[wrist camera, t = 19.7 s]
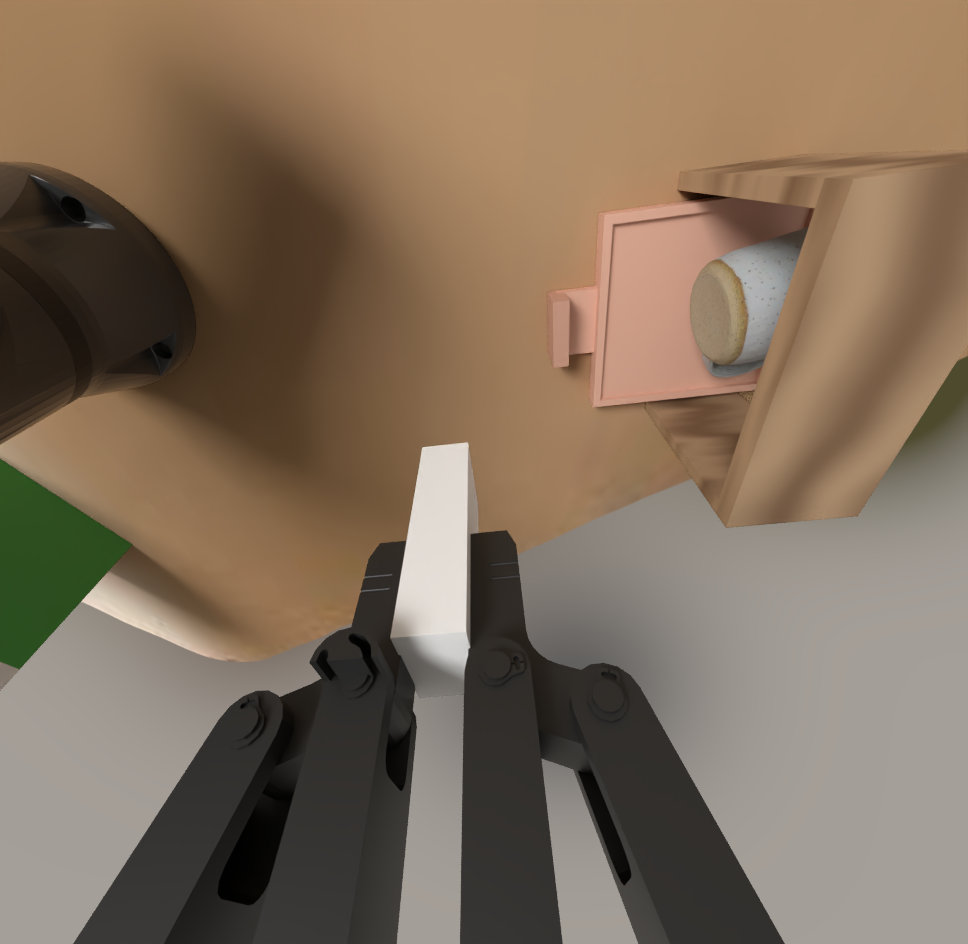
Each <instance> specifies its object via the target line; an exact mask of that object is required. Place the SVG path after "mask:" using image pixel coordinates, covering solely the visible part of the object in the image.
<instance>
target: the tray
mask: <svg viewBox="0 0 968 944" xmlns="http://www.w3.org/2000/svg"><path fill="white" fill-rule="evenodd" d="M814 209H815V208H808V207H801V206H793V205H786V204H778V203H771V202H763V201H756V200H748V199H741V198H733V197H726V196H719V197H711V198H704V199H697V200H689V201H682V202H675V203H667V204H660V205H653V206H645V207H638V208H631V209H623V210H616V211H608V212H601V213H599V219H598V238H597V258H596V277H595V286H590V287H582V288H574V289H566V290H558V291H550V292H547V309H548V354H549V357H550V360H551V362H552V365H553V368H557V367H565V366H569V355H573V354H582V353H591V352H592V354H591V373H590V392H589V400H590V402H591V404H592V406H593V407H602V406H611V405H620V404H630V403H639V402H648V401H658V400H667V399H676V398H686V397H695V396H704V395H713V394H723V393H732V392H741V391H751V390H755V388H756V385H757V382H758V379H759V376H760V373H761V370H762V367H763V366H762V367H760V368H758V369H755V370H753V371H751V372H748V373H745V374H742V375H738V376H733V377H724V378H722V377H715V376H713V375H711V374H710V373H709V371H708V370H707V368H706V366H705V364H704V362H703V359H702V352H701V350H700V348H699V347H698V345H697V343H696V341H695V337H694V334H693V331H692V326H691V319H690V298H691V293H692V288H693V285H694V283H695V281H696V278H697V276H698V275H699V273H700V271H701V270H702V269H703V268H704V267H705V266H706V265H707V264H708V263H709V262H711V261H713V260H715V259H717V258H719V257H721V256H723V255H725V254H727V253H729V252H732V251H735V250H737V249H740V248H743V247H747V246H750V245H754V244H757V243H760V242H763V241H766V240H769V239H772V238H775V237H778V236H781V235H784V234H787V233H791V232H794V231H797V230H800V229H803V228H806V227H809V225H810V221H811V218H812V215H813V212H814Z"/></svg>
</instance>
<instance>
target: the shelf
mask: <svg viewBox="0 0 968 944" xmlns="http://www.w3.org/2000/svg"><path fill="white" fill-rule="evenodd" d="M678 190H681V191H688V192H696V193H703V194H711V195H718V196H726V197H733V198H741V199H748V200H756V201H763V202H771V203H778V204H786V205H793V206H801V207H808V208H815V209H814V212H813V215H812V218H811V221H810V225H809V228H808V231H807V234H806V237H805V240H804V243H803V246H802V249H801V252H800V255H799V258H798V261H797V264H796V267H795V270H794V273H793V276H792V279H791V282H790V285H789V288H788V291H787V294H786V297H785V300H784V303H783V306H782V309H781V312H780V315H779V318H778V321H777V324H776V327H775V330H774V334H773V337H772V340H771V343H770V346H769V349H768V352H767V355H766V358H765V361H764V364H763V367H762V370H761V373H760V376H759V379H758V382H757V385H756V388H755V391H754V394H753V397H752V400H751V403H749V402H748V401H747V400H746V399H745V398H743V397H742V396H741V395H740V394H739V393H738V392H732V393H723V394H713V395H704V396H695V397H686V398H676V399H667V400H658V401H648V402H646V404H645V410H646V412H647V413H648V415H649V416H650V417H651V419H652V420H653V422H654V423H655V425H656V426H657V428H658V429H659V431H660V432H661V434H662V435H663V436H664V438H665V439H666V441H667V442H668V444H669V445H670V447H671V448H672V450H673V451H674V453H675V454H676V456H677V457H678V458H679V460H680V461H681V463H682V464H683V466H684V467H685V469H686V470H687V472H688V473H689V475H690V476H691V477H692V479H693V480H694V482H695V483H696V485H697V486H698V488H699V489H700V491H701V492H702V493H703V495H704V497H705V498H706V499H707V501H708V502H709V504H710V505H711V507H712V508H713V510H714V511H715V512H716V514H717V515H718V517H719V518H720V520H721V521H722V523H723V524H724V526H725V527H726V528H729V527H739V526H751V525H763V524H774V523H786V522H797V521H809V520H820V519H831V518H842V517H853V516H858V515H859V513H860V512H861V510H862V509H863V507H864V506H865V504H866V502H867V501H868V499H869V497H870V496H871V495H872V493H873V491H874V490H875V488H876V487H877V485H878V484H879V482H880V480H881V479H882V477H883V476H884V474H885V473H886V471H887V469H888V468H889V466H890V465H891V463H892V462H893V460H894V459H895V457H896V455H897V454H898V452H899V451H900V449H901V448H902V446H903V444H904V443H905V441H906V440H907V438H908V437H909V435H910V434H911V432H912V430H913V429H914V427H915V426H916V424H917V423H918V421H919V419H920V418H921V416H922V415H923V413H924V412H925V410H926V409H927V407H928V405H929V404H930V402H931V401H932V399H933V398H934V396H935V394H936V393H937V391H938V389H939V388H940V387H941V385H942V383H943V382H944V380H945V379H946V377H947V376H948V374H949V373H950V371H951V369H952V368H953V366H954V365H955V363H956V362H957V360H958V358H959V357H960V355H961V354H962V352H963V351H964V349H965V347H966V346H967V344H968V150H948V151H912V152H875V153H839V154H804V155H797V156H790V157H783V158H776V159H769V160H762V161H755V162H747V163H740V164H733V165H726V166H719V167H712V168H705V169H697V170H690V171H683V172H680V177H679V184H678Z"/></svg>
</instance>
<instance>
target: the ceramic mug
mask: <svg viewBox="0 0 968 944" xmlns="http://www.w3.org/2000/svg"><path fill="white" fill-rule="evenodd" d="M808 228H809V227H806V228H803V229H800V230H797V231H794V232H791V233H787V234H784V235H781V236H778V237H775V238H772V239H769V240H766V241H763V242H760V243H757V244H754V245H750V246H747V247H743V248H740V249H737V250H735V251H732V252H729V253H727V254H725V255H723V256H721V257H719V258H717V259H715V260H713V261H711V262H709V263H708V264H707V265H706V266H705V267H704V268H703V269H702V270H701V271H700V273H699V275H698V276H697V278H696V281H695V283H694V285H693V288H692V293H691V298H690V319H691V326H692V331H693V334H694V337H695V341H696V343H697V345H698V347H699V348H700V350H701V352H702V359H703V362H704V364H705V366H706V368H707V370H708V371H709V373H710V374H711V375H713V376H715V377H722V378H724V377H733V376H738V375H742V374H745V373H748V372H751V371H753V370H755V369H758V368H760V367H762V366H763V364H764V361H765V358H766V355H767V352H768V349H769V346H770V343H771V340H772V337H773V334H774V330H775V327H776V324H777V321H778V318H779V315H780V312H781V309H782V306H783V303H784V300H785V297H786V294H787V291H788V288H789V285H790V282H791V279H792V276H793V273H794V270H795V267H796V264H797V261H798V258H799V255H800V252H801V249H802V246H803V243H804V240H805V237H806V234H807V231H808Z"/></svg>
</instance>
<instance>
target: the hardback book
mask: <svg viewBox="0 0 968 944" xmlns="http://www.w3.org/2000/svg"><path fill="white" fill-rule="evenodd" d="M131 546H132V544H131V543H129V542H128V541H126V540H124V539H123V538H121V537H120V536H118V535H117V534H115V533H114V532H112V531H111V530H109V529H107V528H106V527H104V526H103V525H101V524H100V523H98V522H97V521H95V520H94V519H92V518H90V517H89V516H87V515H86V514H84V513H83V512H81V511H80V510H78V509H77V508H75V507H74V506H72V505H70V504H69V503H67V502H66V501H64V500H63V499H61V498H60V497H58V496H57V495H55V494H53V493H52V492H50V491H49V490H47V489H46V488H44V487H43V486H41V485H40V484H38V483H37V482H35V481H33V480H32V479H30V478H29V477H27V476H26V475H24V474H23V473H21V472H20V471H18V470H16V469H15V468H13V467H12V466H10V465H9V464H7V463H6V462H4V461H3V460H1V459H0V690H1V689H2V688H3V687H4V686H5V685H6V684H7V683H8V682H9V680H10V679H11V678H12V677H13V676H14V675H15V674H16V673H17V672H18V670H19V669H20V668H21V667H22V666H23V665H24V664H25V663H26V662H27V660H28V659H29V658H30V657H31V656H32V655H33V654H34V653H35V652H36V651H37V650H38V648H39V647H40V646H41V645H42V644H43V643H44V642H45V641H46V640H47V638H48V637H49V636H50V635H51V634H52V633H53V632H54V631H55V630H56V629H57V627H58V626H59V625H60V624H61V623H62V622H63V621H64V620H65V618H66V617H67V616H68V615H69V614H70V613H71V612H72V611H73V609H75V608H76V606H77V605H78V604H79V603H80V602H81V601H82V600H83V599H84V598H85V596H86V595H87V594H88V593H89V592H90V591H91V590H92V589H93V588H94V587H95V585H96V584H97V583H98V582H99V581H100V580H101V579H102V578H103V577H104V575H105V574H106V573H107V572H108V571H109V570H110V569H111V568H112V567H113V566H114V564H115V563H116V562H117V561H118V560H119V559H120V558H121V557H122V556H123V554H124V553H125V552H126V551H127V550H128V549H129V548H130V547H131Z"/></svg>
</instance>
